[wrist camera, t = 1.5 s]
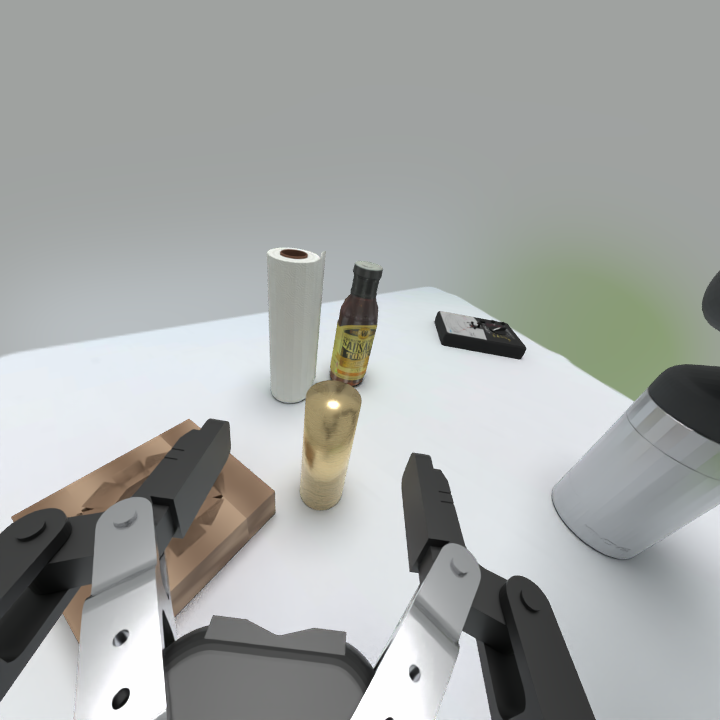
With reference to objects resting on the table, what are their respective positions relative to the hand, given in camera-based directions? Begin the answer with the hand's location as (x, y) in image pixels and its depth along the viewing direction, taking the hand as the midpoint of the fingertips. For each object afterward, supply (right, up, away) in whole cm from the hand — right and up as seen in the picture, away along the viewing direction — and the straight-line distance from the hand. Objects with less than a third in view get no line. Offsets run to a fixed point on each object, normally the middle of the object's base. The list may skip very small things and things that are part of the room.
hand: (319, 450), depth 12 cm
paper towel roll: (-9, -1, +33) cm, 34 cm away
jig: (-17, -12, +14) cm, 25 cm away
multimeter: (+31, +9, +59) cm, 67 cm away
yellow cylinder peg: (-3, -11, +20) cm, 23 cm away
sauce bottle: (0, +1, +38) cm, 38 cm away
